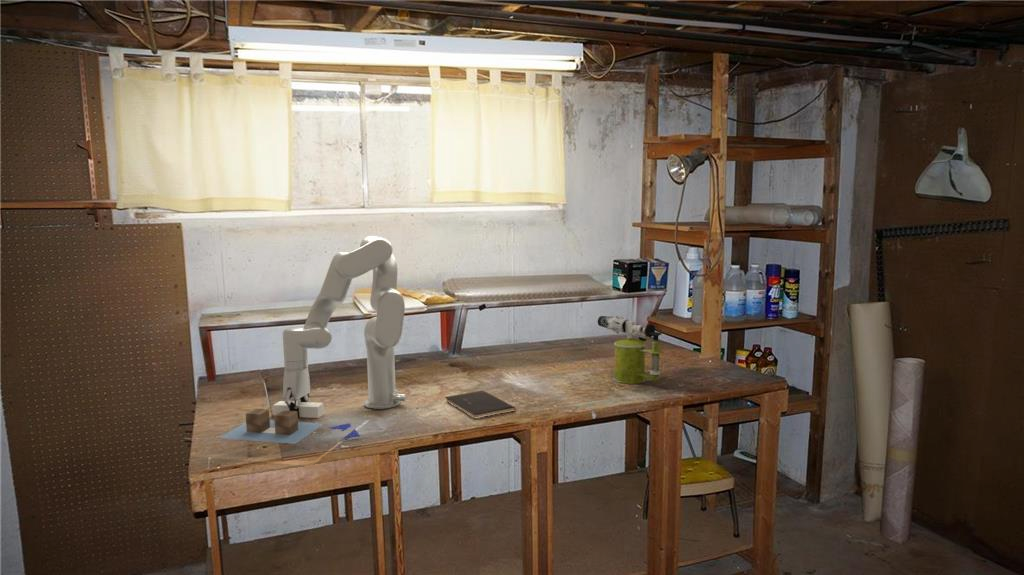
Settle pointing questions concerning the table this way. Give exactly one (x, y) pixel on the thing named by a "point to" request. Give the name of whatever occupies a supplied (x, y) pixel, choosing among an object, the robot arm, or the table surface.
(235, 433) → the board
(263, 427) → the post
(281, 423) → the post
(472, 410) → the hardcover book
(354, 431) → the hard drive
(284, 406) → the beam
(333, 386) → the table surface
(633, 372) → the blowtorch
